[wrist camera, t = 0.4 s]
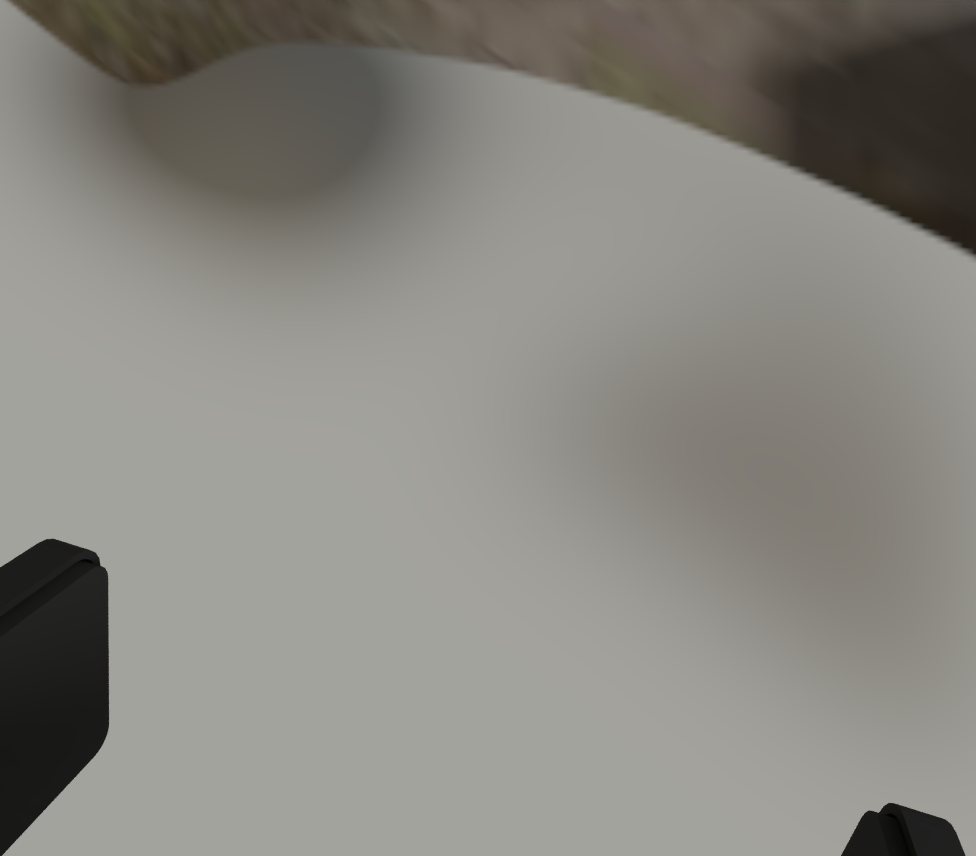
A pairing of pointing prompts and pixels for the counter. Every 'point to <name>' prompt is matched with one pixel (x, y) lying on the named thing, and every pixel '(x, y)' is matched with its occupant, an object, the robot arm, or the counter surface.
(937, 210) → the counter surface
